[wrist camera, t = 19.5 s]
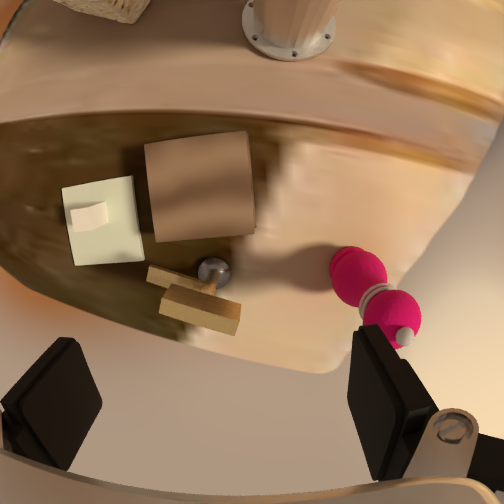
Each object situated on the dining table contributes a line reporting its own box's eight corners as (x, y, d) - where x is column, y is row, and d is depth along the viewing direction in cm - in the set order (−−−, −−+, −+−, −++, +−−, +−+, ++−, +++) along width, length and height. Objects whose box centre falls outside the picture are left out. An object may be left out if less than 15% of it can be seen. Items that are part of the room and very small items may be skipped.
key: (160, 265, 43) (127, 303, 31) (163, 251, 42) (130, 286, 30) (240, 289, 43) (234, 336, 31) (244, 276, 43) (239, 320, 31)
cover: (65, 187, 41) (42, 192, 35) (134, 175, 41) (115, 178, 35) (78, 263, 45) (58, 276, 39) (145, 258, 44) (130, 272, 38)
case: (155, 144, 39) (142, 143, 34) (248, 132, 39) (247, 129, 34) (165, 234, 43) (155, 244, 38) (256, 226, 42) (256, 235, 37)
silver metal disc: (197, 257, 43) (195, 259, 42) (228, 255, 43) (228, 257, 42) (201, 287, 45) (200, 290, 44) (232, 285, 44) (231, 288, 44)
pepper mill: (323, 290, 45) (363, 377, 25) (328, 241, 43) (380, 305, 23) (369, 291, 45) (430, 370, 25) (376, 243, 42) (451, 302, 23)
